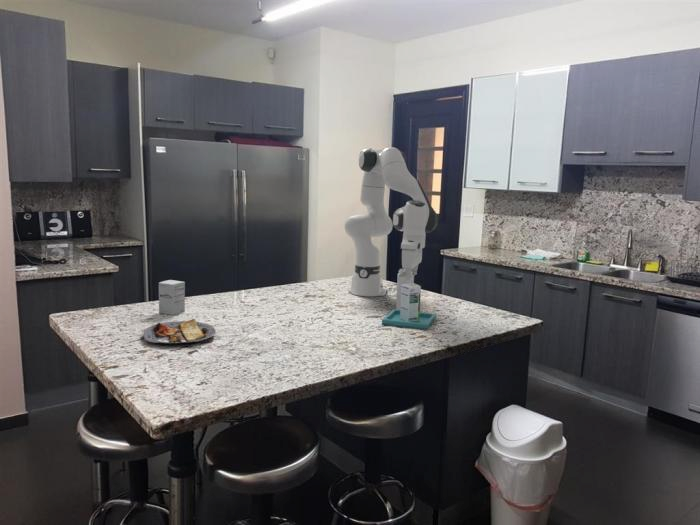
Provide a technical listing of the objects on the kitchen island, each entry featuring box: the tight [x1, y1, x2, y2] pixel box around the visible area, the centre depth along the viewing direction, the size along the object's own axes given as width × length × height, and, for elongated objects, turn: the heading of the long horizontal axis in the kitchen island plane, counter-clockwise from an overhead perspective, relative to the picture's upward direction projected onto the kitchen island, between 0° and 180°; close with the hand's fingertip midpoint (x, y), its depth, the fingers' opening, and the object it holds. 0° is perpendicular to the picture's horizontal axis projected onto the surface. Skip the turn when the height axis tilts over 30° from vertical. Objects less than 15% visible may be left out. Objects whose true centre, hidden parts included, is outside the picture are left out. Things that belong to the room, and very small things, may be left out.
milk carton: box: [395, 268, 415, 310], centre depth 234 cm, size 7×7×19 cm
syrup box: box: [400, 283, 422, 322], centre depth 213 cm, size 6×6×14 cm
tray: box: [381, 308, 437, 331], centre depth 214 cm, size 18×18×2 cm
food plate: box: [142, 318, 216, 345], centre depth 185 cm, size 25×23×4 cm
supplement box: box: [158, 279, 186, 316], centre depth 214 cm, size 7×7×13 cm
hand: (411, 277), depth 212 cm, fingers open, 8 cm apart
